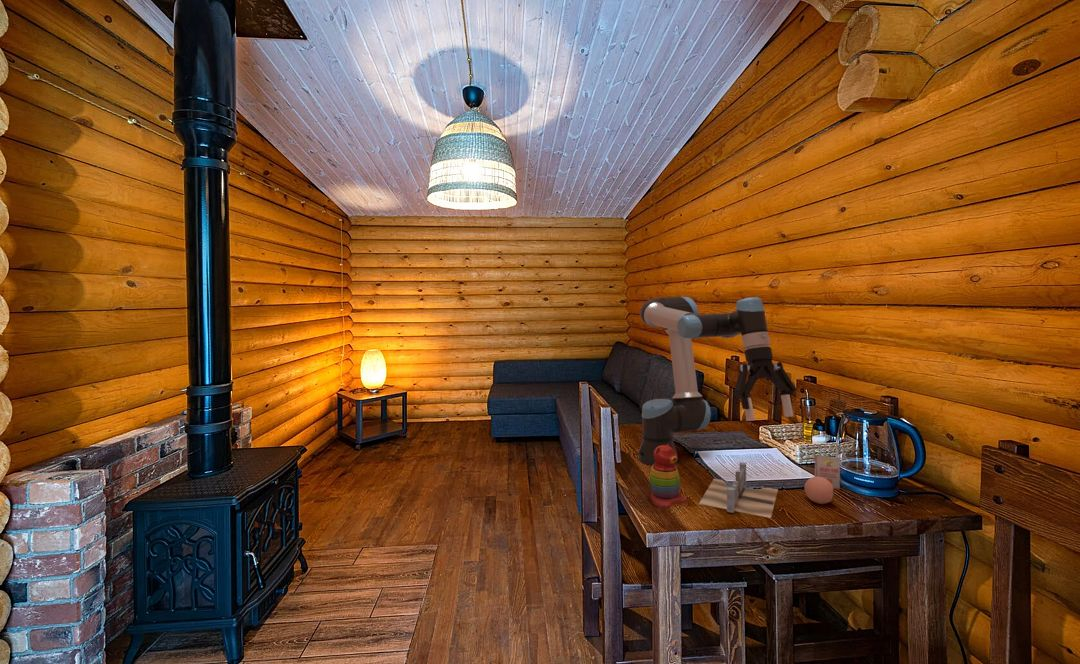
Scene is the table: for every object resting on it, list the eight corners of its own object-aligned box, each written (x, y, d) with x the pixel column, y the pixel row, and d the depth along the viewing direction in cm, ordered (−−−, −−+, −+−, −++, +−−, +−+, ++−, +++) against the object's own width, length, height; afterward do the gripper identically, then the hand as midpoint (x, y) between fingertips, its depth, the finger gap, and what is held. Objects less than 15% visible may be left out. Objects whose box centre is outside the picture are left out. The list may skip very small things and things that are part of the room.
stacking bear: (663, 511, 140) (663, 453, 139) (642, 498, 149) (640, 444, 148) (690, 502, 145) (689, 447, 144) (667, 491, 154) (666, 438, 153)
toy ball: (840, 506, 139) (840, 481, 138) (818, 510, 138) (818, 484, 137) (819, 495, 147) (819, 471, 146) (798, 498, 145) (798, 474, 145)
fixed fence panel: (740, 483, 157) (740, 459, 157) (746, 483, 156) (746, 460, 156) (734, 496, 147) (734, 472, 146) (740, 497, 146) (740, 473, 145)
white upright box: (814, 482, 157) (814, 453, 156) (838, 485, 154) (838, 456, 153) (815, 486, 154) (815, 457, 153) (839, 489, 151) (840, 459, 150)
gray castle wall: (733, 496, 146) (733, 475, 146) (739, 497, 145) (739, 476, 145) (726, 511, 136) (726, 489, 136) (733, 512, 135) (733, 490, 135)
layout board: (713, 480, 162) (713, 478, 162) (778, 491, 151) (778, 489, 151) (698, 505, 143) (698, 503, 143) (770, 519, 133) (770, 517, 133)
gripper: (729, 347, 135) (742, 421, 130) (800, 343, 141) (814, 414, 137) (714, 352, 142) (725, 422, 138) (782, 348, 148) (795, 415, 144)
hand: (770, 418), depth 137 cm, fingers open, 13 cm apart
